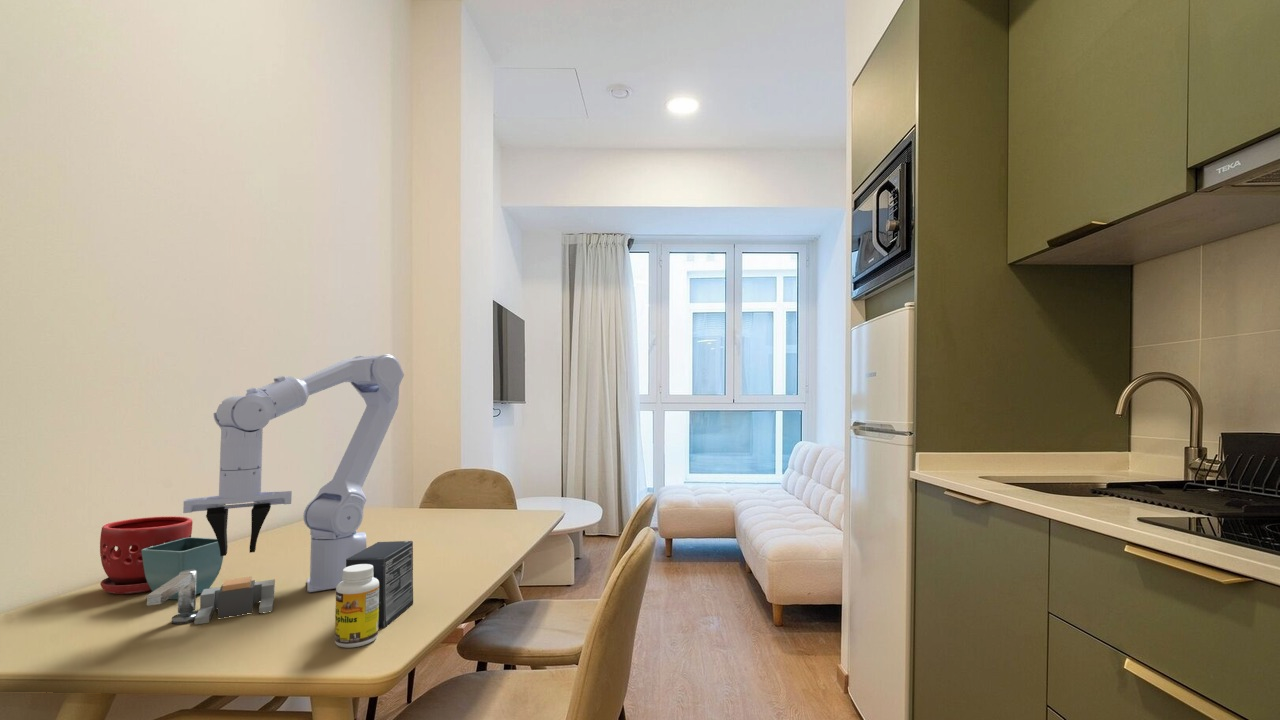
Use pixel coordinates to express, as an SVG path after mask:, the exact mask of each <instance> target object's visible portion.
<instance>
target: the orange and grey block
mask: <svg viewBox="0 0 1280 720" xmlns="http://www.w3.org/2000/svg"><path fill="white" fill-rule="evenodd" d="M255 582H256V581H255V579H252V576H245V577H237V578H229V579H225V580H224V581H223V584H221V586H220V587H221V588H220V590H219V594H218V609H217V619H218V618H224V617H229V616H236V617H238V616H237V615H242V614H247V613H252V614H253V612H252V611H254V608H255V603H254V591H255ZM253 607H254V608H253ZM242 616H243V615H242ZM224 619H225V618H224Z"/></svg>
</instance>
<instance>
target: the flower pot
mask: <svg viewBox="0 0 1280 720" xmlns="http://www.w3.org/2000/svg"><path fill="white" fill-rule="evenodd" d="M141 551H142V558H143V566H144V572H145V577H146V580H147V583H148V585H149V587H150V588H151V592H153V591H155V590H156V589H158V588H159V587H161V586H162V585H164V584H165V583H167V582H168V581H170V580H172V579H173V578H175V577H176V576H178V575H179V572H182V571H185V570H197V577H196V595H199V594H202V592H203V590H204V589H209V588H211V586H212V585H214V583H215V581H216V579H217V578H218V576H219V574H220V572H221V569H222V565H223V561H224V556H220V548H219V544H218V541H217V538H210V537H209V538H207V537H196V536H195V537H192V536H191V537H188V538H183V539H179V540H176V541H172V542H168V543H164V544H160V545H157V546H151V547H149V548H145V549H142V550H141ZM168 600H176V601H178V592H177V593H176V594H174V595H173V596H172V597H170V598H169V599H168Z"/></svg>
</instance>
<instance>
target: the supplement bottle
mask: <svg viewBox="0 0 1280 720" xmlns="http://www.w3.org/2000/svg"><path fill="white" fill-rule="evenodd" d="M373 574H374V573H373V565H370V564H357V565H352V566H348V567H346V568H344V569H343V576H342V578H343V579H342V580H343V581H342V582H340V583H339V584H338V585H337V587H336V588H335V610H334V611H335V614H334V615H335V616H334V617H335V619H334V621H335V623H334V642H335V644H336V645H337V646H338V647H340V648H346V649H351V648H352V649H353V648H358V647H362V646H366V645H368V644H371V643H372V642H373V641H375V640H377V637H378V635H379V628H378V620H379V619H378V618H379V581H378V579H376V578H374V577H373Z"/></svg>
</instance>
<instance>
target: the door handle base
mask: <svg viewBox="0 0 1280 720" xmlns="http://www.w3.org/2000/svg"><path fill="white" fill-rule="evenodd" d="M198 611H199V610H194V611H191V612H188V613H177V614H175V615H173V616H172V617H171V622H172V623H171V624H172V625H183V624H190V623H192V622H195V617H196V615H197V613H198Z"/></svg>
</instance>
